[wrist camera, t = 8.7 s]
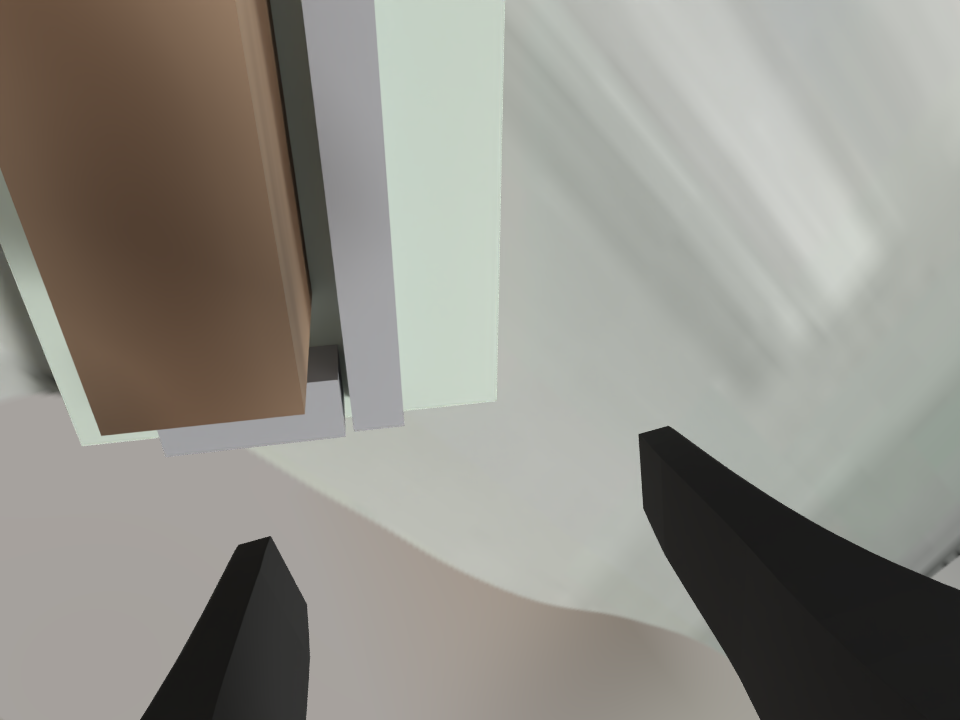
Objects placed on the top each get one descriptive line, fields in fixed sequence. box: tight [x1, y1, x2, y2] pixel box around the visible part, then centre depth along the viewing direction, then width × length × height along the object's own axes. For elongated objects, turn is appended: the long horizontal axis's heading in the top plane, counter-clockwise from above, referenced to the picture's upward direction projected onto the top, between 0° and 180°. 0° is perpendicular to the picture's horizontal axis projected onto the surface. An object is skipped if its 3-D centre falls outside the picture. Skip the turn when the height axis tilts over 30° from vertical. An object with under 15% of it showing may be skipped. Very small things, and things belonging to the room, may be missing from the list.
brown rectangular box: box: [0, 0, 312, 436], centre depth 14 cm, size 4×9×6 cm, turn 0°
